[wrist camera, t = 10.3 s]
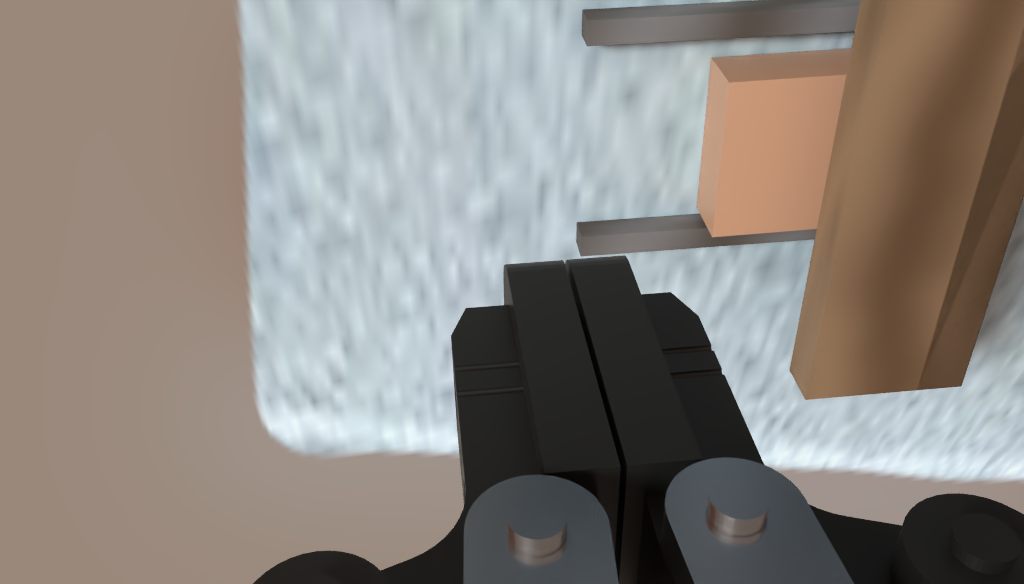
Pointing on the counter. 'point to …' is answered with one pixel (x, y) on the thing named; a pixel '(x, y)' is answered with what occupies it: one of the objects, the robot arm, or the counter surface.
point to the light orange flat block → (769, 140)
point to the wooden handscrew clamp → (877, 180)
